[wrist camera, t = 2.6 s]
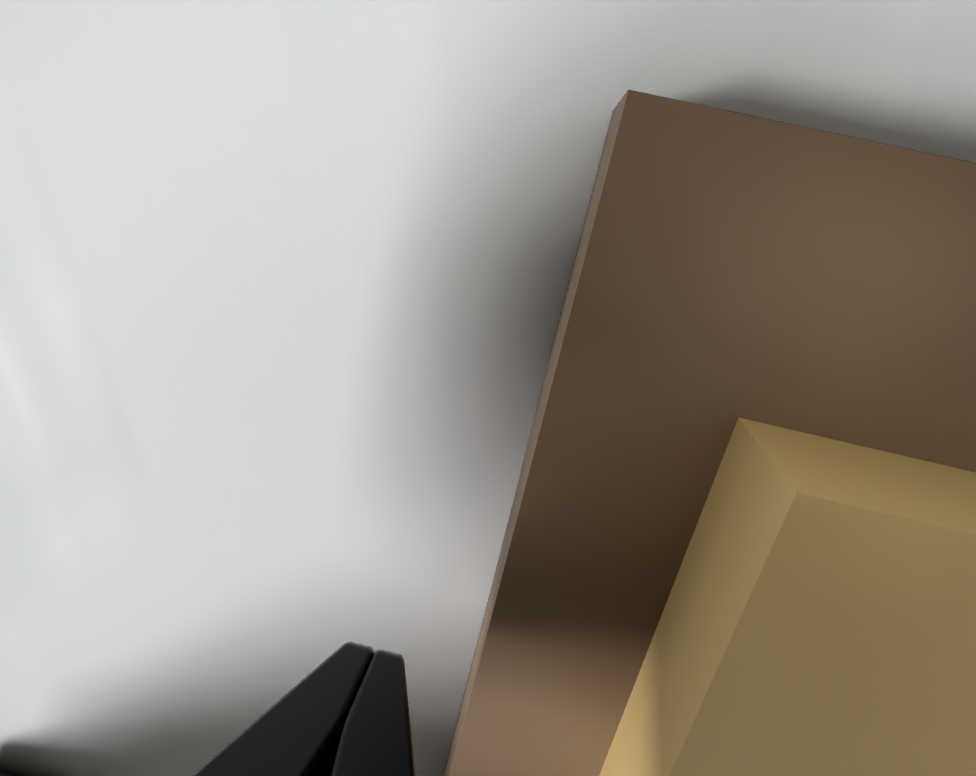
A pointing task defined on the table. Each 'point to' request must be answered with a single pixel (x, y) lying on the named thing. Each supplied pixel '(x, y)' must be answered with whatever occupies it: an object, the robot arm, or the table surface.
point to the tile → (814, 621)
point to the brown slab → (707, 387)
